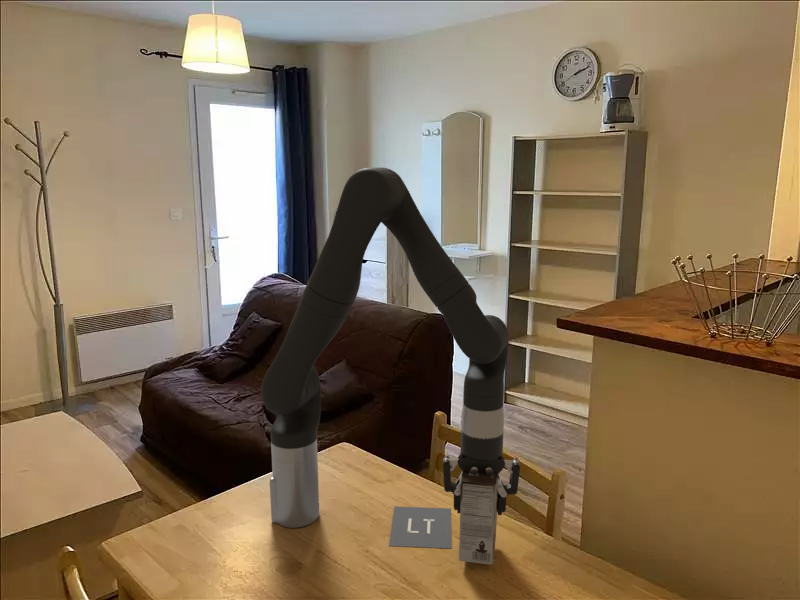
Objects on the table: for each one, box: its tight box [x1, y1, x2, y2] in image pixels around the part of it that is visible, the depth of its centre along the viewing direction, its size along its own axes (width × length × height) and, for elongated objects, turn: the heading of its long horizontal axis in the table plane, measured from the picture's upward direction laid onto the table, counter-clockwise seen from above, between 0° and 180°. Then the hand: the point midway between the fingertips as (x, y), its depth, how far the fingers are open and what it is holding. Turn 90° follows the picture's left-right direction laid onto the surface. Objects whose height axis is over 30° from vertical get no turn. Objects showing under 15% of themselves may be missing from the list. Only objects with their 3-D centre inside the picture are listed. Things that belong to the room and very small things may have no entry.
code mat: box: [388, 505, 453, 550], centre depth 124 cm, size 12×14×1 cm
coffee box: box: [458, 472, 500, 566], centre depth 113 cm, size 9×6×16 cm
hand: (479, 511), depth 113 cm, fingers closed on coffee box, 6 cm apart
